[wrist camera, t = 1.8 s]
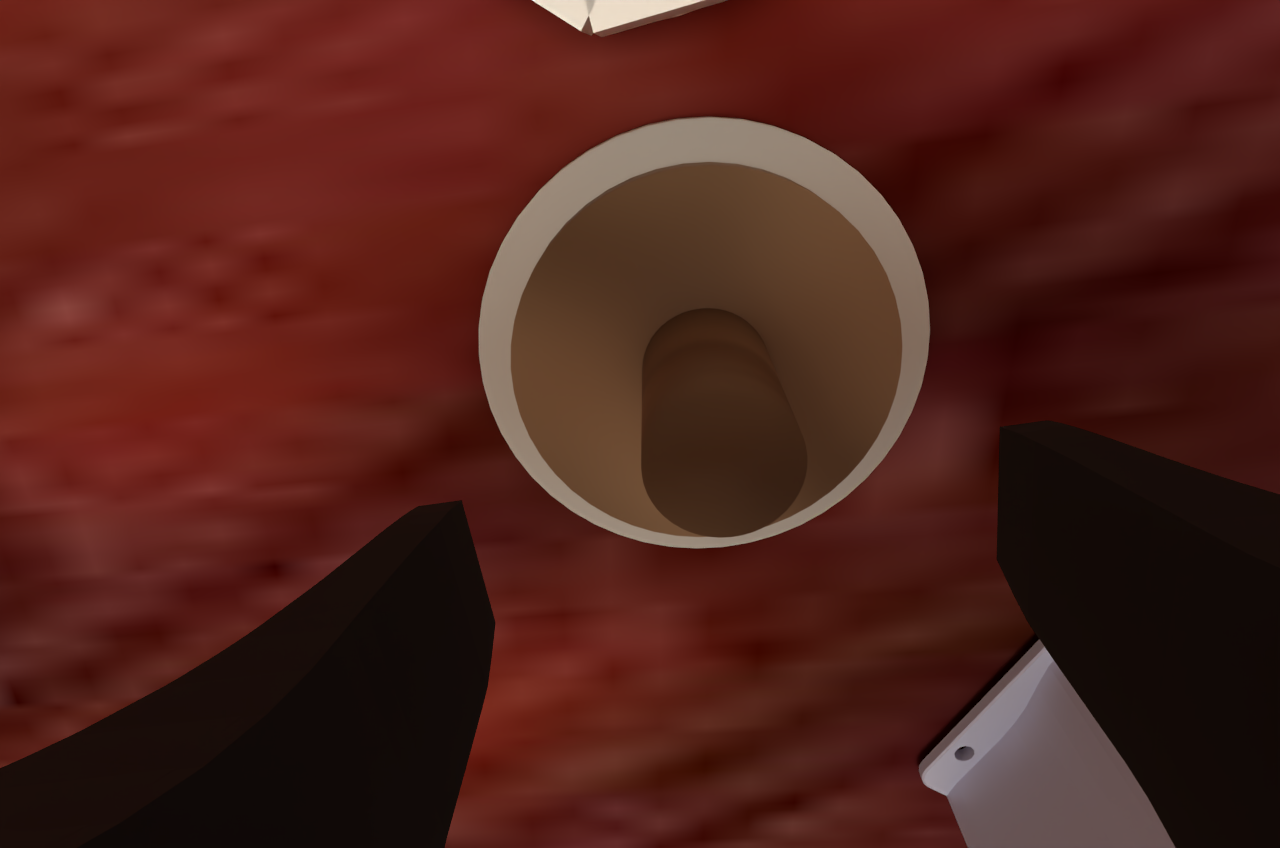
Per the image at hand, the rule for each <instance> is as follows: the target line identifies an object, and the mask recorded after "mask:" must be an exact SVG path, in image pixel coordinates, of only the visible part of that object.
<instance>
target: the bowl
mask: <svg viewBox="0 0 1280 848" xmlns="http://www.w3.org/2000/svg"><path fill="white" fill-rule="evenodd" d="M532 1H534V2H535V3H537V4H539V5H540V6H542V7H543V8H545V9H547V10H548V11H550V12H551V13H553V14H554V15H556V16H558V17H559V18H561V19H562V20H564V21H565V22H567V23H569V24H570V25H572V26H573V27H575V28H577V29H578V30H580V31H582V32H584V33H586V34H588V35H591V36H592V34H593V33H594V34H596V35H598V36H600V37H605V36H608V35H612V34H615V33H619V32H622V31H625V30H629V29H632V28H636V27H639V26H642V25H646V24H649V23H653V22H656V21H660V20H665V19H670V18H674V17H678V16H681V15H684V14H687V13H689V12H692V11H695V10H697V9H700V8H704V7H707V6H710V5H714V4H717V3H721V2H724V1H728V0H532Z"/></svg>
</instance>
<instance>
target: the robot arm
mask: <svg viewBox="0 0 1280 848" xmlns="http://www.w3.org/2000/svg"><path fill="white" fill-rule="evenodd" d="M997 561H998V563H999V565H1000V567H1001V569H1002V571H1003V573H1004V576H1005V578H1006V580H1007V582H1008V584H1009V586H1010V588H1011V590H1012V592H1013V594H1014V596H1015V598H1016V600H1017V602H1018V604H1019V606H1020V608H1021V610H1022V612H1023V614H1024V616H1025V618H1026V620H1027V621H1028V623H1029V624H1030V626H1031V627H1032V629H1033V630H1034V632H1035V633H1036V635H1037V636H1038V638H1039V640H1038V641H1037V642H1036V643H1035V644H1034V645H1033V646H1032V647H1031V648H1030V649H1029V650H1028V652H1027V653H1026V654H1025V655H1024V656H1023V657H1022V658H1021V659H1020V660H1019V661H1018V662H1017V663H1016V664H1015V665H1014V666H1013V667H1012V668H1011V669H1010V670H1009V671H1008V672H1007V673H1006V674H1005V675H1004V676H1003V677H1002V678H1001V680H1000V681H999V682H998V683H997V684H996V685H995V686H994V687H993V688H992V689H991V690H990V691H989V692H988V693H987V694H986V695H985V696H984V697H983V698H982V699H981V700H980V701H979V702H978V703H977V704H976V705H975V706H974V708H973V709H972V710H971V711H970V712H969V713H968V714H967V715H966V716H965V717H964V718H963V719H962V720H961V721H960V722H959V723H958V724H957V725H956V726H955V727H954V728H953V729H952V730H951V731H950V732H949V733H948V734H947V736H946V737H945V738H944V739H943V740H942V741H941V742H940V743H939V744H938V745H937V746H936V747H935V748H934V749H933V750H932V751H931V752H930V753H929V754H928V755H927V756H926V757H925V758H924V759H923V760H922V762H921V763H920V765H919V773H920V776H921V778H922V781H923V783H924V784H925V785H926V786H927V787H929V788H931V789H933V790H935V791H937V792H939V793H941V794H943V795H946V796H947V798H948V800H949V803H950V805H951V808H952V810H953V813H954V815H955V817H956V820H957V822H958V825H959V827H960V830H961V832H962V835H963V837H964V839H965V842H966V844H967V847H968V848H1280V495H1279V494H1276V493H1272V492H1269V491H1266V490H1262V489H1259V488H1256V487H1252V486H1249V485H1246V484H1242V483H1239V482H1236V481H1233V480H1230V479H1227V478H1224V477H1220V476H1217V475H1214V474H1211V473H1208V472H1205V471H1202V470H1199V469H1196V468H1193V467H1190V466H1187V465H1184V464H1182V463H1179V462H1176V461H1173V460H1170V459H1167V458H1164V457H1161V456H1158V455H1156V454H1153V453H1150V452H1147V451H1144V450H1141V449H1139V448H1136V447H1133V446H1130V445H1127V444H1124V443H1121V442H1119V441H1116V440H1113V439H1110V438H1107V437H1104V436H1101V435H1098V434H1095V433H1092V432H1089V431H1086V430H1083V429H1080V428H1076V427H1073V426H1070V425H1066V424H1062V423H1058V422H1053V421H1040V422H1033V423H1026V424H1018V425H1011V426H1004V427H1000V445H999V487H998V529H997ZM494 630H495V620H494V616H493V612H492V609H491V605H490V601H489V598H488V594H487V591H486V587H485V583H484V580H483V576H482V573H481V569H480V565H479V562H478V558H477V555H476V551H475V547H474V544H473V540H472V537H471V533H470V529H469V526H468V522H467V518H466V515H465V511H464V508H463V504H462V500H461V501H454V502H446V503H439V504H432V505H424V506H418V507H416V508H415V509H413V510H411V511H410V512H408V513H407V514H405V515H404V516H402V517H401V518H400V519H398V520H397V521H396V522H394V523H393V524H392V525H390V526H389V527H388V528H386V529H385V530H384V531H383V532H381V533H380V534H379V535H378V536H376V537H375V538H374V539H373V540H371V541H370V542H369V543H368V544H366V545H365V546H364V547H363V548H361V549H360V550H359V551H358V552H356V553H355V554H354V555H353V556H351V557H350V558H349V559H348V560H346V561H345V562H344V563H343V564H341V565H340V566H339V567H338V568H336V569H335V570H334V571H333V572H331V573H330V574H329V575H328V576H326V577H325V578H324V579H323V580H321V581H320V582H319V583H317V584H316V585H315V586H313V587H312V588H311V589H309V590H308V591H307V592H305V593H304V594H303V595H301V596H300V597H298V598H297V599H296V600H294V601H293V602H292V603H290V604H289V605H288V606H286V607H285V608H284V609H282V610H281V611H280V612H278V613H277V614H275V615H274V616H273V617H271V618H270V619H269V620H267V621H266V622H265V623H263V624H262V625H261V626H259V627H258V628H256V629H255V630H253V631H252V632H250V633H249V634H248V635H246V636H245V637H243V638H242V639H240V640H239V641H237V642H236V643H234V644H233V645H231V646H230V647H228V648H226V649H225V650H223V651H222V652H220V653H219V654H217V655H215V656H214V657H212V658H211V659H209V660H207V661H206V662H204V663H202V664H201V665H199V666H198V667H196V668H194V669H193V670H191V671H189V672H188V673H186V674H185V675H183V676H181V677H180V678H178V679H176V680H174V681H173V682H171V683H169V684H168V685H166V686H164V687H162V688H160V689H159V690H157V691H155V692H153V693H151V694H149V695H147V696H145V697H144V698H142V699H140V700H138V701H136V702H134V703H132V704H130V705H129V706H127V707H125V708H123V709H121V710H119V711H117V712H115V713H114V714H112V715H110V716H108V717H106V718H104V719H102V720H100V721H99V722H97V723H95V724H93V725H91V726H89V727H87V728H85V729H84V730H82V731H80V732H77V733H75V734H73V735H71V736H69V737H67V738H65V739H63V740H61V741H59V742H57V743H55V744H52V745H50V746H48V747H46V748H44V749H42V750H40V751H38V752H36V753H33V754H31V755H29V756H27V757H25V758H23V759H20V760H18V761H16V762H14V763H11V764H9V765H7V766H5V767H2V768H0V848H444V847H445V843H446V839H447V835H448V831H449V827H450V824H451V820H452V817H453V813H454V809H455V806H456V802H457V798H458V795H459V791H460V787H461V784H462V780H463V777H464V773H465V769H466V766H467V762H468V758H469V755H470V751H471V748H472V744H473V740H474V737H475V733H476V729H477V725H478V722H479V718H480V714H481V710H482V706H483V703H484V699H485V695H486V691H487V687H488V680H489V672H490V665H491V658H492V649H493V639H494ZM964 746H967V747H965V748H963V749H960V750H957V749H959V748H960V747H964Z"/></svg>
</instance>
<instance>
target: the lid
mask: <svg viewBox="0 0 1280 848" xmlns="http://www.w3.org/2000/svg"><path fill="white" fill-rule="evenodd" d="M901 361H902V332H901V321H900V316H899V311H898V307H897V302H896V298H895V295H894V292H893V290H892V287H891V284H890V282H889V279H888V276H887V274H886V272H885V270H884V268H883V266H882V265H881V263H880V261H879V259H878V257H877V255H876V254H875V252H874V250H873V249H872V248H871V247H870V245H869V244H868V243H867V241H866V240H865V239H864V237H863V236H862V235H861V233H860V232H859V231H858V230H857V229H856V228H855V227H854V226H853V225H852V224H851V223H850V222H849V221H848V220H847V219H846V218H845V217H844V216H843V215H842V214H841V213H840V212H839V211H837V210H836V209H835V208H834V207H832V206H831V205H830V204H828V203H827V202H826V201H824V200H823V199H821V198H820V197H819V196H817V195H816V194H815V193H813V192H812V191H810V190H809V189H807V188H805V187H803V186H801V185H799V184H797V183H796V182H794V181H792V180H790V179H788V178H785V177H783V176H780V175H777V174H774V173H772V172H769V171H766V170H763V169H759V168H754V167H750V166H745V165H740V164H734V163H720V162H699V163H683V164H678V165H673V166H668V167H663V168H659V169H655V170H652V171H649V172H646V173H643V174H640V175H638V176H635V177H632V178H630V179H628V180H626V181H624V182H622V183H620V184H618V185H616V186H614V187H612V188H610V189H608V190H606V191H605V192H604V193H602V194H601V195H599V196H598V197H596V198H595V199H593V200H592V201H590V202H589V203H588V204H586V205H585V206H584V207H583V208H582V209H581V210H579V211H578V212H577V213H576V214H575V215H574V216H573V217H572V218H571V219H570V220H569V221H567V222H566V224H565V225H564V226H563V227H562V228H561V230H560V231H559V232H558V233H557V234H556V236H555V237H554V238H553V239H552V240H551V241H550V243H549V245H548V246H547V248H546V249H545V251H544V253H543V254H542V256H541V257H540V259H539V261H538V262H537V264H536V266H535V268H534V269H533V271H532V273H531V276H530V278H529V280H528V282H527V284H526V287H525V289H524V291H523V293H522V296H521V299H520V302H519V306H518V309H517V313H516V316H515V319H514V326H513V333H512V340H511V375H512V382H513V390H514V395H515V398H516V402H517V406H518V409H519V413H520V416H521V418H522V421H523V423H524V425H525V428H526V430H527V432H528V435H529V437H530V438H531V440H532V442H533V443H534V445H535V447H536V449H537V450H538V452H539V454H540V455H541V457H542V458H543V459H544V461H545V462H546V463H547V464H548V466H549V467H550V468H551V469H552V471H553V472H554V473H555V474H556V475H557V476H558V477H559V478H560V479H561V480H562V481H563V482H564V483H565V484H566V485H567V486H568V487H569V488H570V489H571V490H572V491H573V492H575V493H576V494H577V495H578V496H580V497H581V498H582V499H584V500H585V501H586V502H588V503H589V504H590V505H592V506H594V507H596V508H597V509H599V510H601V511H602V512H604V513H606V514H608V515H609V516H611V517H614V518H616V519H618V520H621V521H623V522H625V523H628V524H630V525H633V526H636V527H639V528H643V529H646V530H649V531H653V532H658V533H663V534H669V535H675V536H688V537H718V538H724V537H735V536H741V535H745V534H748V533H752V532H754V531H757V530H759V529H762V528H763V527H766V526H769V525H772V524H774V523H777V522H779V521H782V520H784V519H786V518H789V517H791V516H793V515H795V514H797V513H798V512H800V511H802V510H804V509H806V508H808V507H809V506H811V505H813V504H814V503H815V502H817V501H818V500H820V499H821V498H822V497H824V496H825V495H827V494H828V493H830V492H831V491H832V490H833V489H834V488H835V487H836V486H837V485H839V484H840V483H841V482H842V481H843V480H844V479H845V478H846V477H847V476H848V475H849V474H850V473H851V472H852V471H853V470H854V469H855V467H856V466H857V465H858V464H859V463H860V462H861V461H862V459H863V458H864V457H865V455H866V454H867V452H868V451H869V449H870V448H871V447H872V445H873V444H874V442H875V441H876V439H877V437H878V435H879V434H880V432H881V430H882V428H883V426H884V424H885V422H886V420H887V418H888V415H889V412H890V410H891V407H892V404H893V401H894V398H895V395H896V391H897V387H898V382H899V377H900V372H901Z"/></svg>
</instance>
